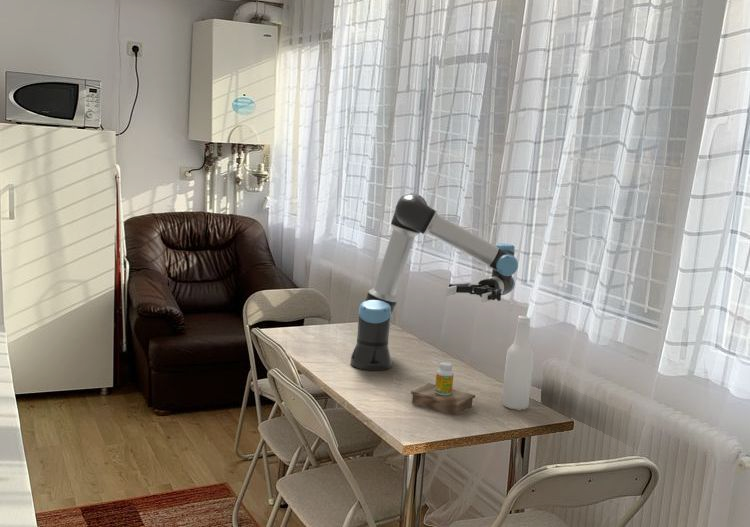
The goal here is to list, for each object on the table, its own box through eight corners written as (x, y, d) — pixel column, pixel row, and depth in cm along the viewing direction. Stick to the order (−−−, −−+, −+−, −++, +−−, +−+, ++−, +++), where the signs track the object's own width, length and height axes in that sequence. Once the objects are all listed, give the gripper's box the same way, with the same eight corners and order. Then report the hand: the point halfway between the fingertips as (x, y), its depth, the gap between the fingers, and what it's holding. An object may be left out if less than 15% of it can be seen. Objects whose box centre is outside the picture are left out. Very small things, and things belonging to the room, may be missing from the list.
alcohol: (496, 401, 261) (506, 313, 256) (520, 401, 263) (530, 313, 258) (508, 410, 252) (518, 319, 248) (533, 410, 255) (543, 320, 250)
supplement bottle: (440, 396, 249) (443, 366, 247) (431, 391, 253) (434, 362, 252) (454, 394, 251) (457, 365, 250) (445, 389, 256) (448, 360, 254)
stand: (409, 403, 252) (410, 391, 252) (427, 394, 262) (428, 383, 262) (457, 416, 243) (458, 403, 243) (474, 407, 253) (475, 395, 253)
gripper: (520, 303, 283) (496, 312, 266) (458, 292, 296) (431, 299, 279) (522, 283, 282) (498, 290, 264) (460, 272, 295) (433, 278, 277)
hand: (464, 295), depth 271 cm, fingers open, 13 cm apart
